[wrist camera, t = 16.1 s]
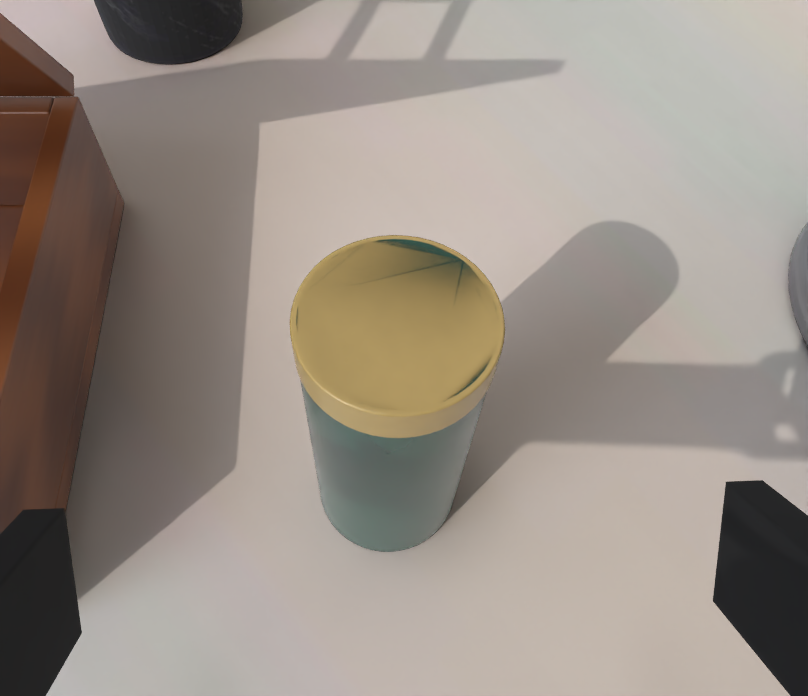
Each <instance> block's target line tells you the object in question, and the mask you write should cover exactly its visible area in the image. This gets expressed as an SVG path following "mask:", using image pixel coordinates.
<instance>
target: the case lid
mask: <svg viewBox="0 0 808 696" xmlns="http://www.w3.org/2000/svg"><path fill="white" fill-rule="evenodd" d="M0 96H74V76H73V74H71V73H70V72H69V71H68V70H67V69H66V68H64V67H63V66H62V65H61V64H60V63H58V62H57V61H56V60H55V59H54V58H53V57H51V56H50V55H49V54H48V53H47V52H46V51H44V50H43V49H42V48H41V47H40V46H38V45H37V44H36V43H35V42H34V41H33V40H31V39H30V38H29V37H28V36H27V35H25V34H24V33H23V32H22V31H21V30H20V29H18V28H17V27H16V26H15V25H14V24H13V23H11V22H10V21H9V20H8V19H7V18H5V17H4V16H3V15H2V14H1V13H0Z"/></svg>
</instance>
